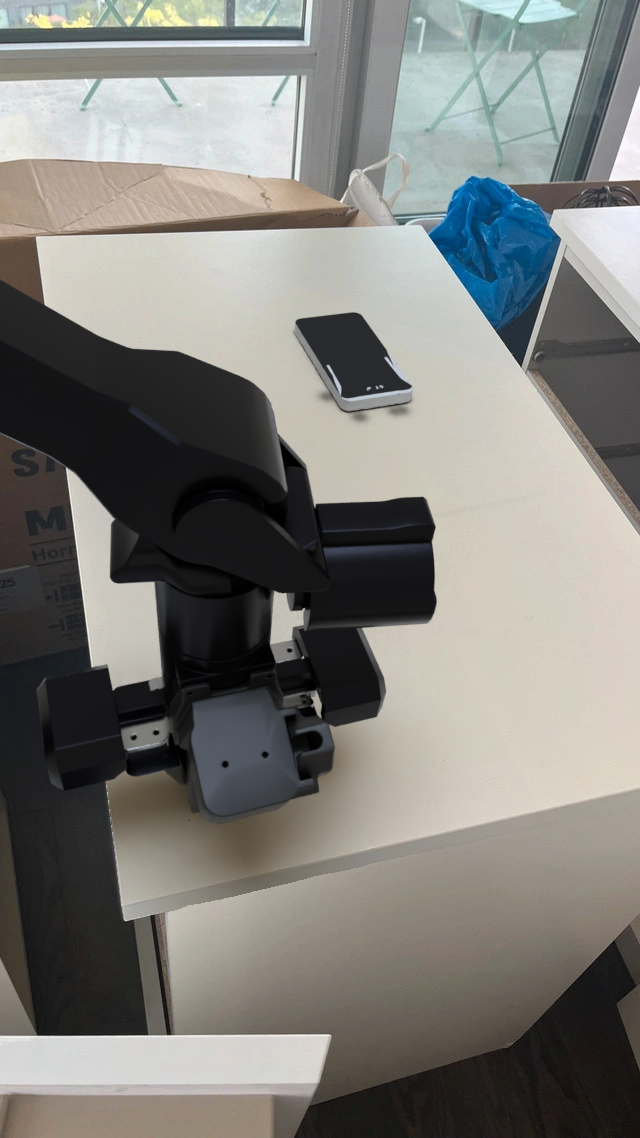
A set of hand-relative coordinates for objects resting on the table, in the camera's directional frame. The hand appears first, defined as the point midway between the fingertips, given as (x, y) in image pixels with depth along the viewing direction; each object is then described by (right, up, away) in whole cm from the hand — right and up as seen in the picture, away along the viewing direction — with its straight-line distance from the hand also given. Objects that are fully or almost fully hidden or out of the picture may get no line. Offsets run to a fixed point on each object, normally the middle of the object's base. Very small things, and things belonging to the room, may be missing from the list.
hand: (215, 770), depth 54 cm
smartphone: (+10, +34, +34) cm, 49 cm away
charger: (0, -1, +1) cm, 1 cm away
